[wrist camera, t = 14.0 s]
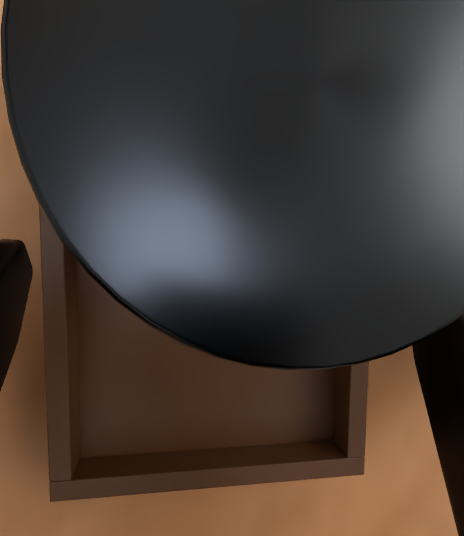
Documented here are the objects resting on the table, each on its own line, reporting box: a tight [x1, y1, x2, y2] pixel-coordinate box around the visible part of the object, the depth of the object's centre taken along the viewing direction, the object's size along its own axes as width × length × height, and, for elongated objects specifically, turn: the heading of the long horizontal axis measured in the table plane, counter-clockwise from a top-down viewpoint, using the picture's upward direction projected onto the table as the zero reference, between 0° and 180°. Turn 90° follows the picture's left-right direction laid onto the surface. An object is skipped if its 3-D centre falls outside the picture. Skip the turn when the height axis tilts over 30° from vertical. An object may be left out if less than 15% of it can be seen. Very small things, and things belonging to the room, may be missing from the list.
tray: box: [39, 205, 369, 502], centre depth 16 cm, size 17×13×2 cm
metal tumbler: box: [1, 0, 464, 370], centre depth 10 cm, size 6×6×12 cm
